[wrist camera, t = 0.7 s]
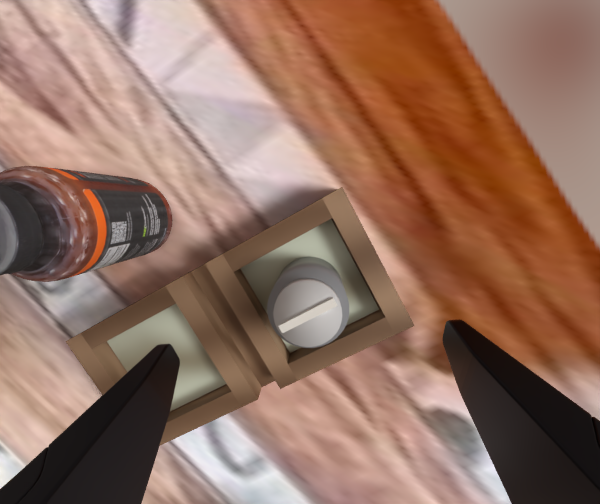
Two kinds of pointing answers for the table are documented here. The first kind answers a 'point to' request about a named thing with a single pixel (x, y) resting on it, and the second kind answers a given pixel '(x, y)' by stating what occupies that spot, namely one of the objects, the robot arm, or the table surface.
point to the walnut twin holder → (247, 317)
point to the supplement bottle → (75, 221)
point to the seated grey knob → (308, 303)
